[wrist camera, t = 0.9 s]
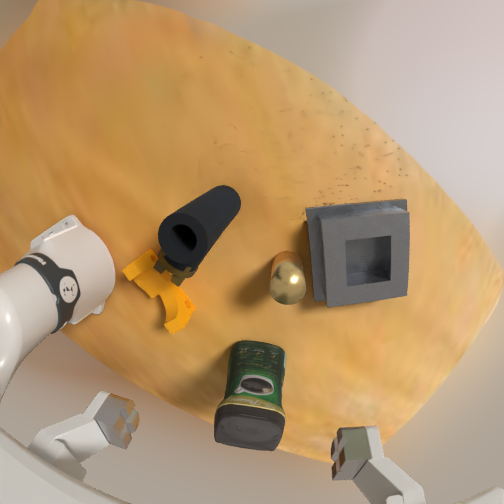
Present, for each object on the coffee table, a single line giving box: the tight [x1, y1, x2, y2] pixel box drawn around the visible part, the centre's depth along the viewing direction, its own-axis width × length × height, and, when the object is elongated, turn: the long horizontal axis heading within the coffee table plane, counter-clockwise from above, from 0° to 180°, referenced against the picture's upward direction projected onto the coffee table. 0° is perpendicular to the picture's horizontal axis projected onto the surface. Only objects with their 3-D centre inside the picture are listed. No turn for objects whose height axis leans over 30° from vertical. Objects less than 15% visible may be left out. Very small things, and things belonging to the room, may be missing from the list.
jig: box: [306, 199, 410, 307], centre depth 37 cm, size 15×14×5 cm
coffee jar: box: [214, 341, 286, 451], centre depth 38 cm, size 10×8×19 cm
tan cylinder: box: [270, 251, 306, 305], centre depth 37 cm, size 4×4×8 cm
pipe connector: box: [153, 185, 241, 287], centre depth 34 cm, size 12×5×15 cm, turn 143°
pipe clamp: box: [122, 248, 196, 334], centre depth 42 cm, size 12×4×6 cm, turn 34°
